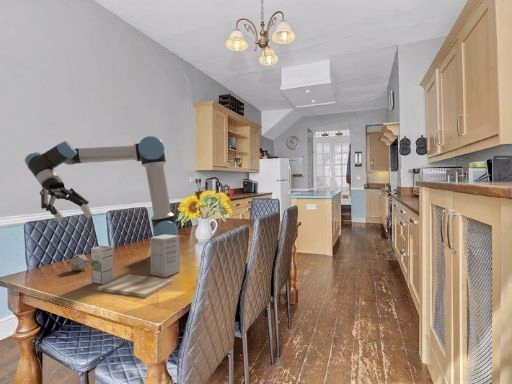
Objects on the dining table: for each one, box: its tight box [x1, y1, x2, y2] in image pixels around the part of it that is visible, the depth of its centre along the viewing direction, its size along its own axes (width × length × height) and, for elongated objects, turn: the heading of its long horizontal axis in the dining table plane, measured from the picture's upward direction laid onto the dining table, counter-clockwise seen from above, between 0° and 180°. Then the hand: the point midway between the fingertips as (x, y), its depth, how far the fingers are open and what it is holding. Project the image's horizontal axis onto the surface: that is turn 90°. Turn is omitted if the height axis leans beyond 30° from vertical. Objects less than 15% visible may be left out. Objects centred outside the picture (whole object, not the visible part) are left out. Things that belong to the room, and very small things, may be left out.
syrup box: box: [90, 245, 114, 285], centre depth 114 cm, size 6×6×14 cm
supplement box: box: [149, 234, 181, 278], centre depth 125 cm, size 10×9×17 cm
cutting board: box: [97, 273, 173, 299], centre depth 109 cm, size 22×16×1 cm
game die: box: [66, 252, 91, 273], centre depth 129 cm, size 9×8×10 cm
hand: (76, 218), depth 118 cm, fingers open, 13 cm apart
